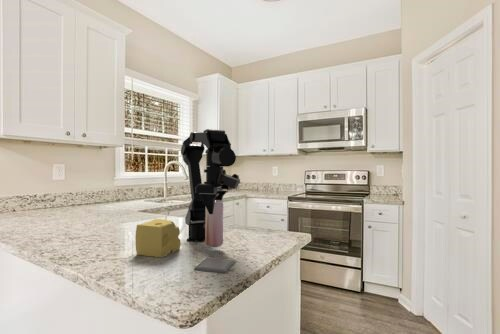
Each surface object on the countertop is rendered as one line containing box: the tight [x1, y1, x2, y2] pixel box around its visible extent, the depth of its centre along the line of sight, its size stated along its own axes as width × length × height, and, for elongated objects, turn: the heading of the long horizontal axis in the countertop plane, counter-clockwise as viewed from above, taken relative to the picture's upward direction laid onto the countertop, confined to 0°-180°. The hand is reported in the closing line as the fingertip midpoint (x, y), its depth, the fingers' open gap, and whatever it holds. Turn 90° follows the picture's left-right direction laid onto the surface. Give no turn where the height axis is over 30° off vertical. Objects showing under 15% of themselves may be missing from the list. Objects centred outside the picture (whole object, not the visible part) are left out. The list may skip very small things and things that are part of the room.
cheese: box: [135, 218, 181, 258], centre depth 92 cm, size 10×11×10 cm
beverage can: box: [204, 199, 224, 248], centre depth 93 cm, size 6×6×15 cm
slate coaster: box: [194, 257, 236, 274], centre depth 80 cm, size 9×9×1 cm
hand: (214, 212), depth 93 cm, fingers closed on beverage can, 6 cm apart
